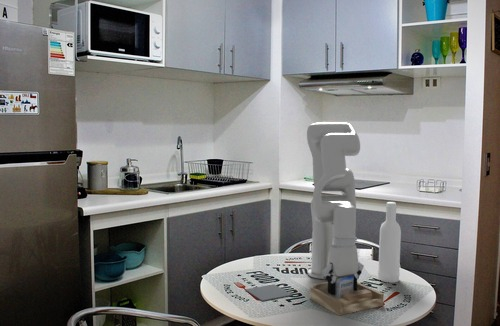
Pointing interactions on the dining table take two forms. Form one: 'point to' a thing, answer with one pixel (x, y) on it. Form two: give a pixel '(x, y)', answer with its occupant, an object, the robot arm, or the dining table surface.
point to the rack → (322, 297)
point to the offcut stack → (356, 297)
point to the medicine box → (343, 286)
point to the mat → (268, 292)
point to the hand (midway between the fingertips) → (342, 291)
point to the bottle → (389, 246)
